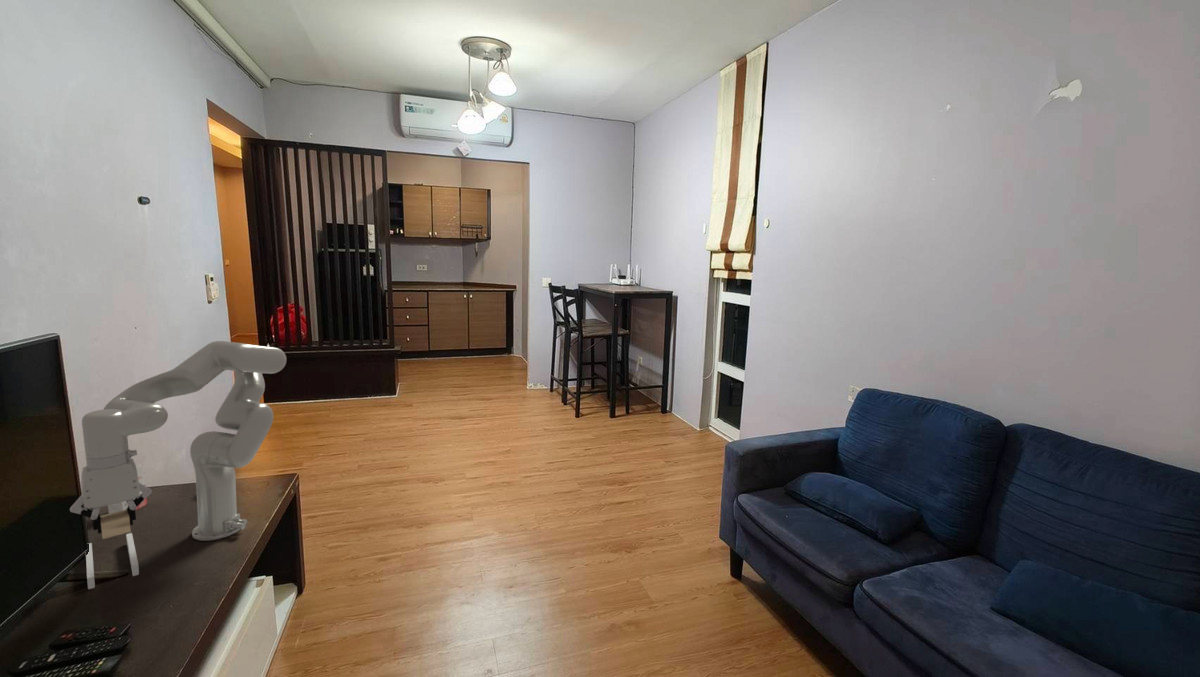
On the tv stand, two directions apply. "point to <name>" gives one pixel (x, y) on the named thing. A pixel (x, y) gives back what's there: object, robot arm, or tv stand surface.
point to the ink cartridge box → (124, 505)
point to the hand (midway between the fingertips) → (115, 526)
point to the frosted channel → (131, 555)
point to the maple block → (115, 524)
